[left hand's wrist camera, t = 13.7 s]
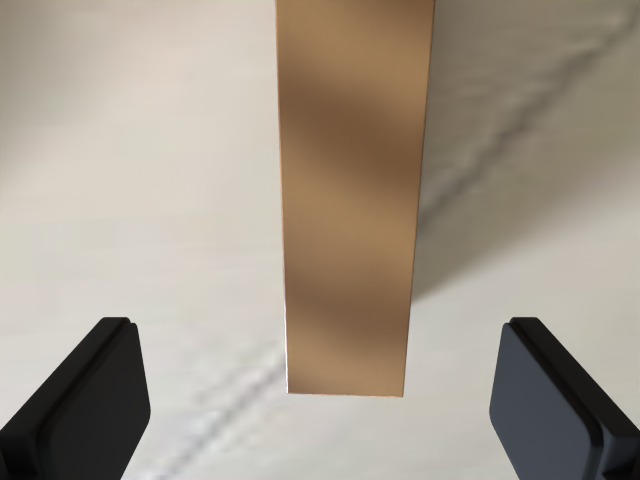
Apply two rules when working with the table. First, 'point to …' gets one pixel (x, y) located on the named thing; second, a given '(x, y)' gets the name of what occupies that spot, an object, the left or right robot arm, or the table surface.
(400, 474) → the table surface
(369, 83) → the bar
